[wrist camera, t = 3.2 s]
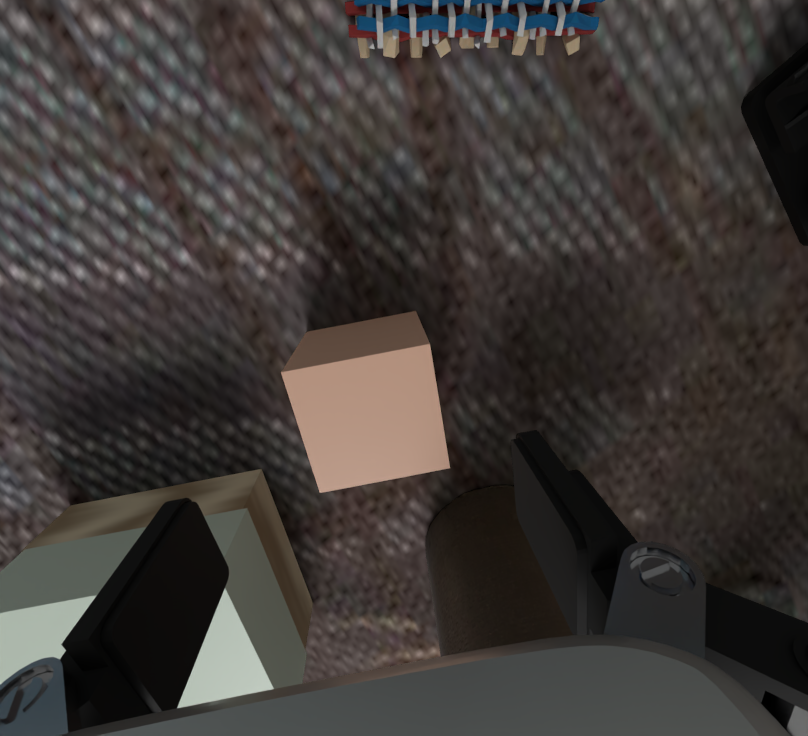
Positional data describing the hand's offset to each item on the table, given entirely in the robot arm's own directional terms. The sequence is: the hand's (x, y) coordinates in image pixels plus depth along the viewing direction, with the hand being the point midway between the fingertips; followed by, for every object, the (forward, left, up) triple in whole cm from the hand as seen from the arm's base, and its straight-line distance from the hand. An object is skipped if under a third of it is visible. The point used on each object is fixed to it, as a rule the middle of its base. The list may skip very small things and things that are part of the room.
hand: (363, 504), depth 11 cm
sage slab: (+14, +11, -8) cm, 19 cm away
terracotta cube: (0, 0, -11) cm, 11 cm away
